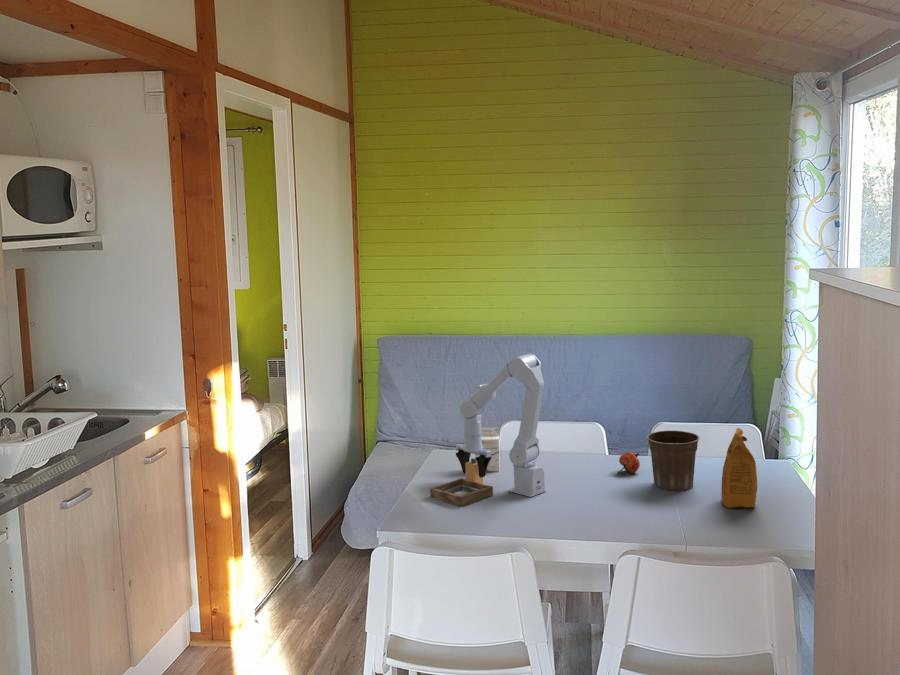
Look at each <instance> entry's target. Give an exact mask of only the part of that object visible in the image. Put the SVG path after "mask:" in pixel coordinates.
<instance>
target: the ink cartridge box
mask: <svg viewBox="0 0 900 675" xmlns="http://www.w3.org/2000/svg"><path fill="white" fill-rule="evenodd" d="M499 430H500V429H499V427H481V438H482V446H483V448H485V449H487V450H490V451H491V456H492V458H491V460H490V462H489V464H488V466H487V470H486V472H489V471H490V472H491V471H499V472H500V470H501V453H500V449H501V448H500V445H501V444H500V442H501V441H500V434H499ZM488 431H489V432H488ZM479 456H480V455H477V454H474V458H475V459H476V457H479Z"/></svg>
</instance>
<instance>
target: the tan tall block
mask: <svg viewBox="0 0 900 675" xmlns="http://www.w3.org/2000/svg"><path fill="white" fill-rule="evenodd" d="M465 467H466V473H465V479H466V480H470V481H473V482H477V483H481V484H484V477H479V469H478V464H477V461H476V459H475V457H474V458H470V460H469V462H467V463H465Z"/></svg>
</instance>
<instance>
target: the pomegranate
mask: <svg viewBox="0 0 900 675" xmlns="http://www.w3.org/2000/svg"><path fill="white" fill-rule="evenodd" d="M639 456H640V453H639V452H637V453H635V454H634V453H632V452H624V453H622V454H621V456H619V458H618V462H619V464H620V465H622V466H623V467H622V468H621V469H620V470H619V471H617V474H618V475H619V473H621V472H622V471H623V470H625V471H626V472H628V473H630V474H635V473H636V472H638V470H639V469H640V466H641V465H640V464H641V462H640V459H639Z"/></svg>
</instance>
